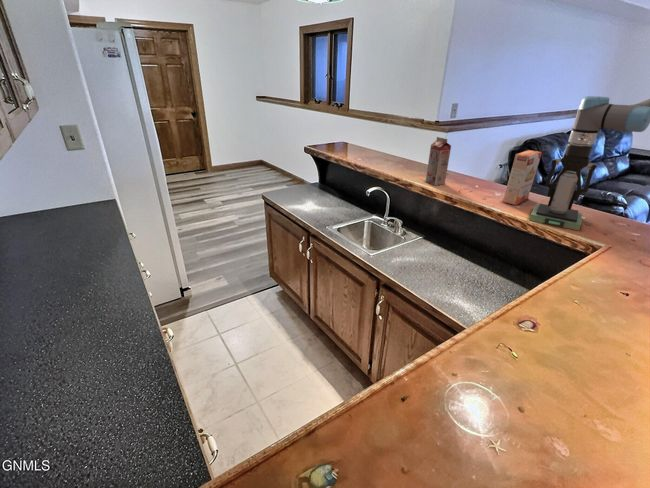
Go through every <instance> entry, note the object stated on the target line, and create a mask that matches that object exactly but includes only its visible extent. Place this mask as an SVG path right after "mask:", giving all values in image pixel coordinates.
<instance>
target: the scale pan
mask: <svg viewBox="0 0 650 488" xmlns="http://www.w3.org/2000/svg"><path fill="white" fill-rule="evenodd" d="M538 205H539V207H538V210H537V212H536V214H538V215H543V216H549V217H554V218H559V219H564V220H569V221H574V222H577V218H578V212H579V210H578V209H574V208H573V209H572V208H571V210H569V209H568V211H566V212H565V213H563V214H560V213H555V212H552V211H551V210H550V208H549V207H550V206H548V204H545V203H539V204H538Z"/></svg>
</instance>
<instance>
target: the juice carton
mask: <svg viewBox="0 0 650 488" xmlns="http://www.w3.org/2000/svg"><path fill="white" fill-rule="evenodd" d="M451 150H452V145H451V144H450V143H449V142H448V139H447V138H445V137H439V136H436V140H435V141H433V142H432V143H431V144H430V150H429V156H428V162H427V169H426V174H425V183H427V184H430V185H432V186H439V185H445V184H446V178H447V173H448V172H447V171H448V167H449V161H450V156H451Z"/></svg>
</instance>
